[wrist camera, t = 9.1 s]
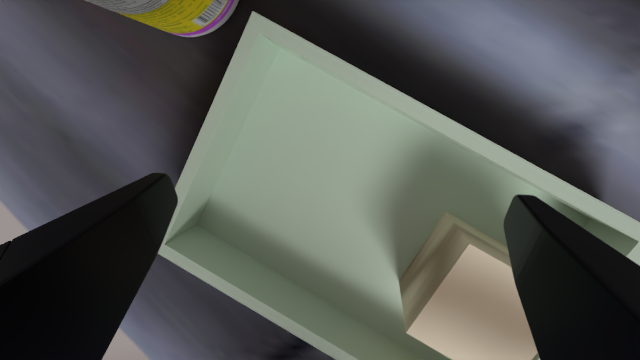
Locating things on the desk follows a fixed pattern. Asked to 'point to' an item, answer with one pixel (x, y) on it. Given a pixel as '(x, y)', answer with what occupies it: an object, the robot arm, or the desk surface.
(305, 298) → the tote
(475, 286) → the beech block
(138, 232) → the robot arm
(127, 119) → the desk surface
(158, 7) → the supplement bottle
